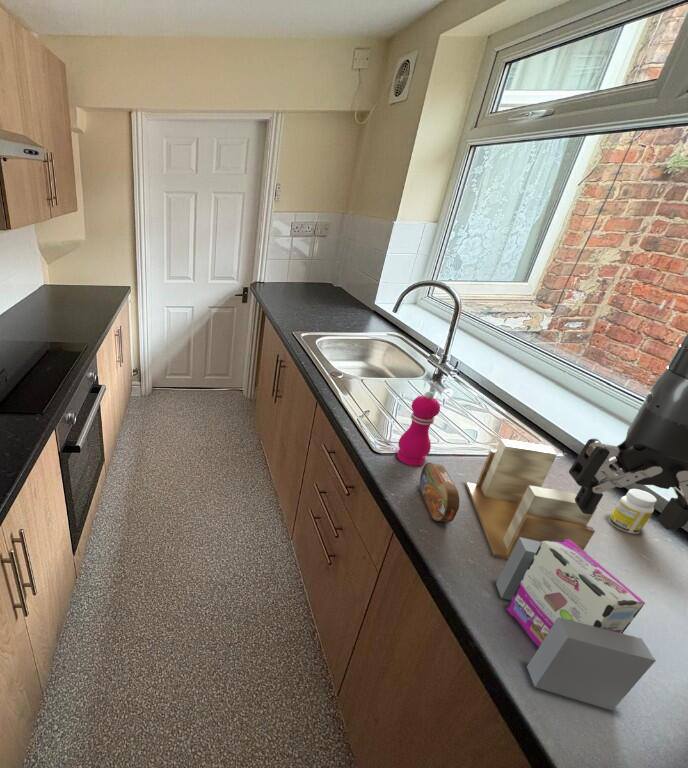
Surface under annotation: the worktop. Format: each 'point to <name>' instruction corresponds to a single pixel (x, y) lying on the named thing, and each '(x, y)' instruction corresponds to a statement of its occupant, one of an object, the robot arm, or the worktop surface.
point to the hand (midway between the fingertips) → (623, 517)
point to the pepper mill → (418, 431)
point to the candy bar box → (570, 592)
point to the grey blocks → (578, 649)
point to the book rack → (525, 500)
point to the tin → (439, 492)
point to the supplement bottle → (633, 511)
